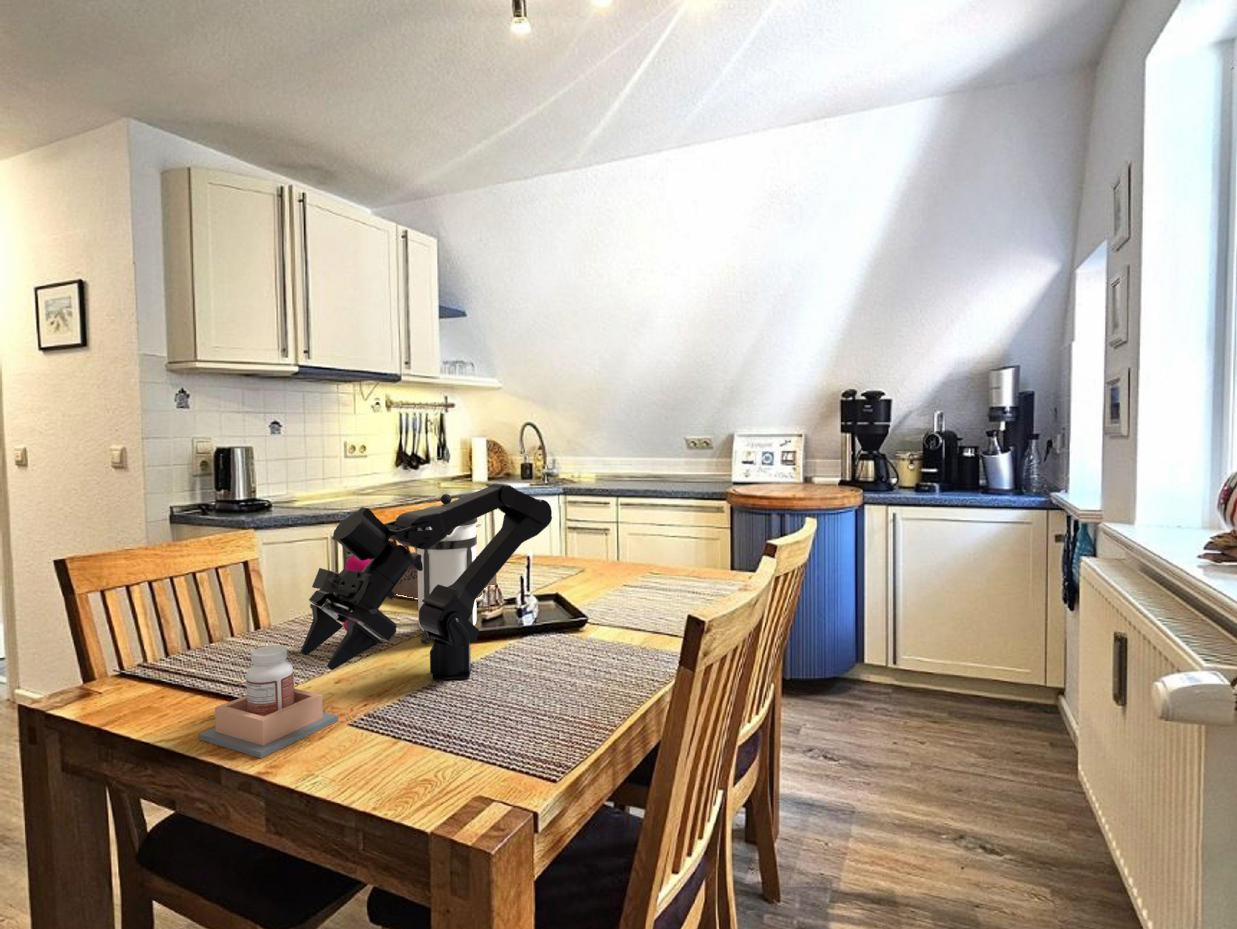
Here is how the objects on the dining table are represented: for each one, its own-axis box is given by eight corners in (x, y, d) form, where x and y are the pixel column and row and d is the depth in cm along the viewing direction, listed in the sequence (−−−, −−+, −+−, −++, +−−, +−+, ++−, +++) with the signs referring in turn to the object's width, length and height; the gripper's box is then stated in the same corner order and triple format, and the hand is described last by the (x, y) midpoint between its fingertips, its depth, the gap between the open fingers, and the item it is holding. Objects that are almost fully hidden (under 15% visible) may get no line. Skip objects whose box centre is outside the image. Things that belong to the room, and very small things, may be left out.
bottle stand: (338, 721, 105) (337, 693, 105) (261, 758, 93) (260, 727, 93) (278, 705, 111) (277, 679, 110) (198, 739, 99) (197, 709, 99)
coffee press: (501, 629, 151) (500, 492, 150) (446, 650, 138) (444, 499, 136) (444, 617, 161) (443, 488, 159) (388, 635, 147) (385, 494, 145)
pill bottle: (283, 711, 107) (281, 640, 106) (302, 722, 103) (300, 648, 102) (240, 725, 102) (238, 650, 101) (259, 737, 98) (256, 660, 97)
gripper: (318, 541, 116) (251, 621, 108) (374, 555, 103) (302, 647, 96) (365, 579, 122) (304, 657, 115) (423, 597, 109) (359, 686, 102)
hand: (315, 661), depth 107 cm, fingers open, 9 cm apart
